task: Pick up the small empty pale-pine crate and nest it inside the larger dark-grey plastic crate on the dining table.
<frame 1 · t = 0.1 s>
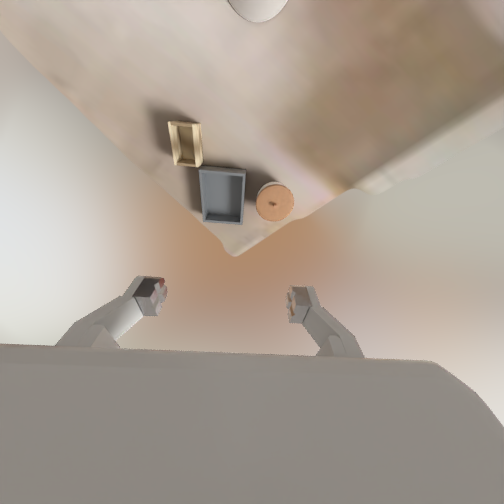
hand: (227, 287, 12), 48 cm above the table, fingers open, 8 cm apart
pine crate: (190, 142, 48), on the table
grey crate: (224, 193, 56), on the table
lidded jar: (272, 194, 57), on the table
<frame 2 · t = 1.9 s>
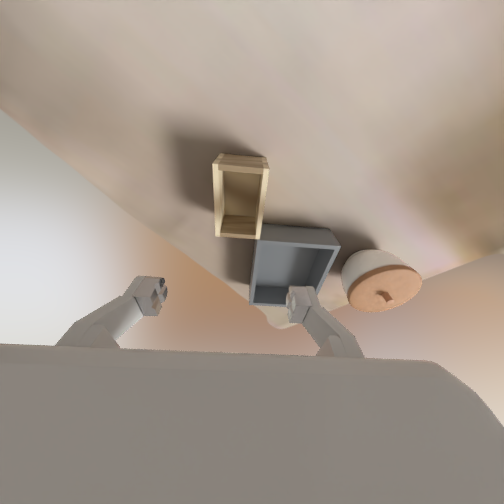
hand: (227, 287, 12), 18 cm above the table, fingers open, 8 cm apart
pine crate: (241, 189, 26), on the table
grey crate: (284, 260, 35), on the table
lidded jar: (360, 261, 35), on the table
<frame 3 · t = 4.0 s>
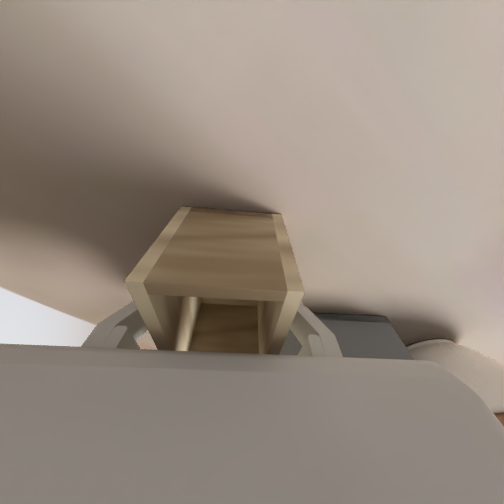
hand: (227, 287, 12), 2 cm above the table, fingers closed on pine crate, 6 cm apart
pine crate: (231, 266, 13), on the table, touching gripper
grey crate: (302, 350, 22), on the table
lidded jar: (423, 349, 22), on the table
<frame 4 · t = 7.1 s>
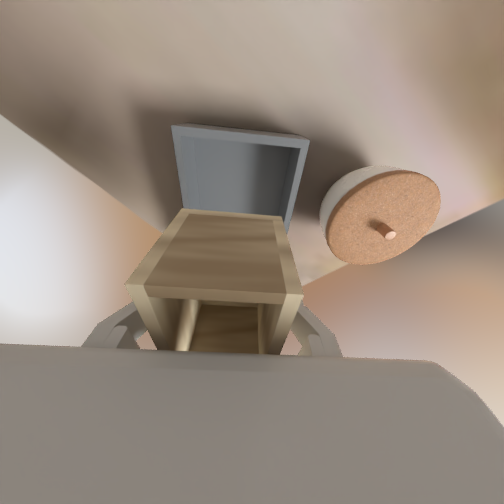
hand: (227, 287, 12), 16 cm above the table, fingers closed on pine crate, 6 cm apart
pine crate: (231, 267, 14), point 14 cm above the table, touching gripper
grey crate: (240, 196, 25), on the table
lidded jar: (348, 198, 25), on the table
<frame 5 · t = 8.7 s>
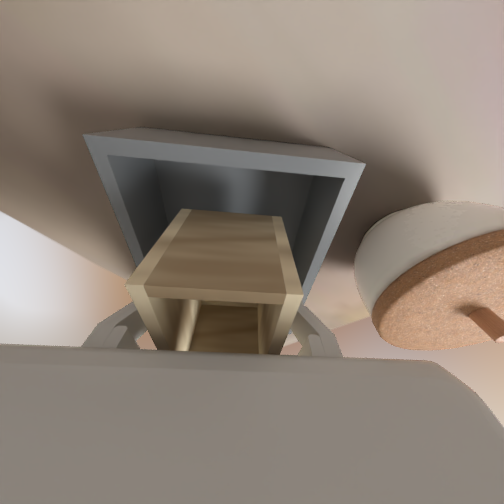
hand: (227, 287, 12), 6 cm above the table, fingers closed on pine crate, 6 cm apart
pine crate: (231, 267, 14), point 4 cm above the table, touching gripper
grey crate: (234, 235, 17), on the table
lidded jar: (393, 237, 17), on the table
when the fingers open (5 cm above the table, at t = 9.9 s): pine crate drops 2 cm, resting on grey crate.
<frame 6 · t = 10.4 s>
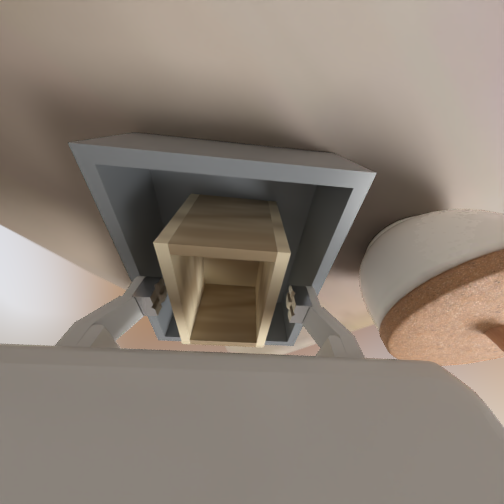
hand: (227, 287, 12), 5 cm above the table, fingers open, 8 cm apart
pine crate: (232, 248, 15), point 1 cm above the table, touching grey crate
grey crate: (233, 243, 16), on the table
lidded jar: (399, 245, 16), on the table
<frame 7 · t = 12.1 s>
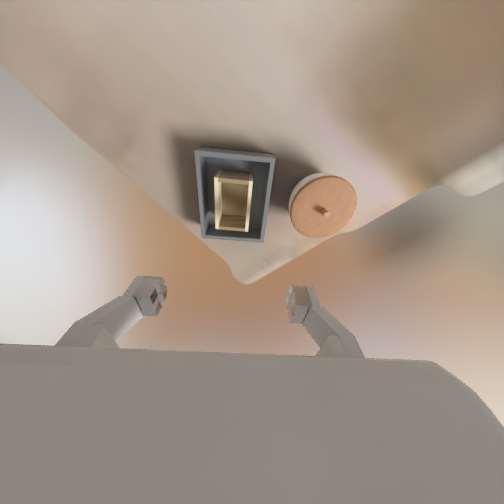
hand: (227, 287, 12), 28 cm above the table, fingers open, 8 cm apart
pine crate: (235, 195, 35), point 1 cm above the table, touching grey crate
grey crate: (235, 194, 36), on the table
lidded jar: (310, 195, 36), on the table
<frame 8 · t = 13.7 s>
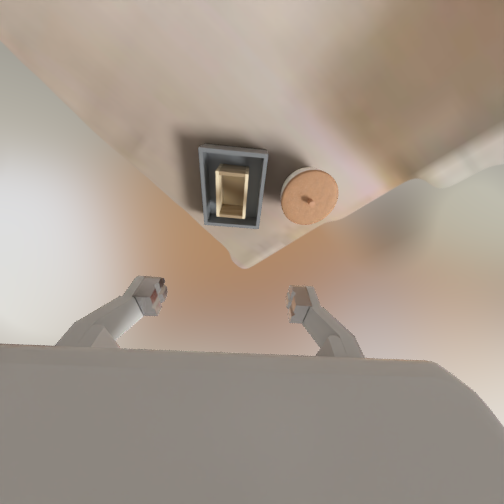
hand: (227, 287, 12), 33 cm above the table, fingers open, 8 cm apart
pine crate: (233, 187, 40), point 1 cm above the table, touching grey crate
grey crate: (234, 185, 40), on the table
lidded jar: (300, 187, 41), on the table
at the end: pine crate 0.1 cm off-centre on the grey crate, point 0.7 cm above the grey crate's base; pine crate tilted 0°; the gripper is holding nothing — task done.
